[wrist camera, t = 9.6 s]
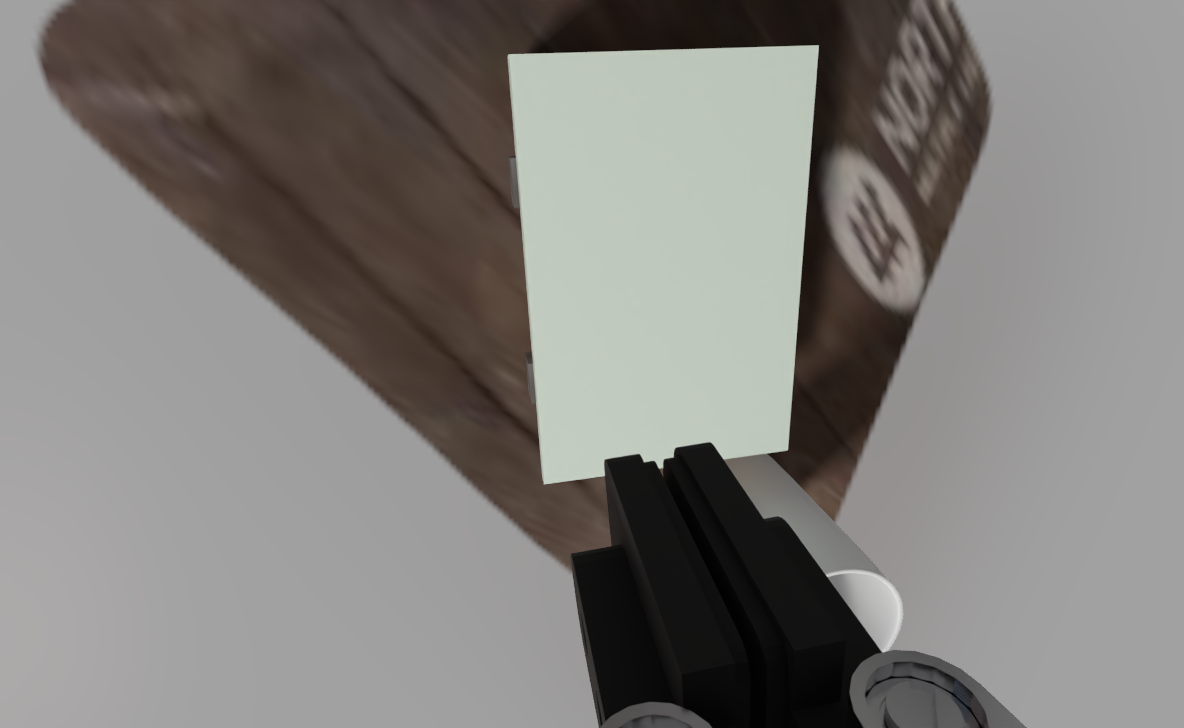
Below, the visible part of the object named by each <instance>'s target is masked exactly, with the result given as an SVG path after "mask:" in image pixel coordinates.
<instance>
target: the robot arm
mask: <svg viewBox="0 0 1184 728" xmlns="http://www.w3.org/2000/svg"><path fill="white" fill-rule="evenodd" d="M604 471H605V481H606V492H607V502H608V513H609V523H610V534H611V544H612V546H611V547H606V548H600V549H595V550H589V551H584V552H578V553H573V554H571V563H572V571H573V579H574V587H575V594H576V602H577V608H578V615H579V621H580V628H581V633H582V640H583V645H584V651H585V656H586V661H587V667H588V672H589V677H590V682H591V687H592V692H593V698H594V703H595V709H596V713H597V719H598V724H599V728H1026V727H1025V726H1024V725H1023V724H1022V723H1021V722H1020V721H1019V720H1018V719H1017V718H1016V717H1014V715H1013V714H1011V713H1010V712H1009V711H1008V710H1007V709H1006V708H1005V707H1004V706H1003V705H1002V704H1001V703H1000V702H999V701H998V700H997V699H995V697H993V696H992V695H991V694H990V693H989V692H988V691H987V690H986V689H985V688H984V687H983V686H982V685H981V684H980V683H978V682H977V681H976V680H974V679H973V678H972V677H970V676H969V675H968V674H966V673H965V672H964V671H963V670H961V669H960V668H958V667H956V666H954V665H952V664H950V663H948V662H945V661H943V660H942V659H940V658H937V657H934V656H930V655H926V654H923V653H920V652H916V651H901V650H892V651H887V652H883V653H882V651H881V650H880V649H879V647H878V646H877V645H876V643H875V642H874V640H873V639H872V638H871V636H870V635H869V634H868V632H867V631H866V629H865V628H864V627H863V625H862V624H861V623H860V621H859V620H858V618H857V617H856V616H855V614H854V613H853V612H852V610H851V609H850V607H849V606H848V605H847V603H846V602H845V601H844V599H843V598H842V596H841V595H840V594H839V592H838V591H837V590H836V588H835V587H834V586H833V584H832V583H831V581H830V580H829V579H828V577H827V576H826V575H825V573H824V572H823V570H822V569H821V568H820V566H819V565H818V564H817V562H816V561H815V559H814V558H813V557H812V555H811V554H810V553H809V551H808V550H807V548H806V547H805V546H804V544H803V543H802V542H801V540H800V539H799V537H798V536H797V535H796V533H795V532H794V531H793V529H792V528H791V527H790V525H789V524H788V523H787V522H786V521H785V520H784V519H783V518H781V517H779V516H776V517H771V518H765V519H764V518H763V517H762V515H761V514H760V513H759V511H758V510H757V508H756V507H755V505H754V504H753V502H752V501H751V499H750V498H749V496H748V495H747V493H746V492H745V490H744V489H743V487H742V486H741V485H740V483H739V482H738V480H737V479H736V477H735V476H734V474H733V473H732V471H731V470H730V468H729V467H728V465H727V464H726V462H725V461H724V459H723V458H722V456H721V455H720V454H719V452H718V451H717V449H716V448H715V446H714V445H713V444H712V443H711V442H706V443H700V444H694V445H688V446H682V447H676V448H675V450H674V457H673V458H667V459H664V461H663V476H664V478H663V476H662V474H661V472H660V470H659V468H658V466H657V464H656V462H655V461H649V462H644V461H643V459H642V457H641V455H640V454H634V455H628V456H622V457H616V458H610V459H605V460H604Z"/></svg>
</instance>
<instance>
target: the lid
mask: <svg viewBox="0 0 1184 728" xmlns="http://www.w3.org/2000/svg"><path fill="white" fill-rule="evenodd" d="M818 51H819V45H811V46H778V47H744V48H710V49H676V50H642V51H608V52H574V53H540V54H509V55H508V68H509V81H510V93H511V105H512V117H513V129H514V141H515V153H516V165H517V177H518V189H519V202H520V214H521V226H522V238H523V250H524V262H525V274H526V286H527V298H528V310H529V322H530V335H531V347H532V359H533V371H534V383H535V395H536V407H537V419H538V431H539V443H540V455H541V468H542V477H543V482H544V484H550V483H557V482H564V481H572V480H579V479H586V478H593V477H600V476H605V471H604V460H605V459H610V458H616V457H622V456H628V455H634V454H640V455H641V457H642V459H643V461H644V462H649V461H655V462H656V464H657V466H658V468H663V461H664V459H667V458H673V457H674V450H675V448H676V447H682V446H688V445H694V444H700V443H706V442H711V443H712V444H713V445H714V446H715V448H716V449H717V451H718V452H719V454H720V455H721V456H722V458H723V459H731V458H738V457H745V456H752V455H759V454H767V453H774V452H781V451H788V443H789V430H790V417H791V404H792V391H793V378H794V365H795V352H796V339H797V325H798V312H799V299H800V286H801V273H802V260H803V247H804V234H805V221H806V208H807V195H808V182H809V169H810V156H811V142H812V129H813V116H814V103H815V90H816V77H817V64H818Z"/></svg>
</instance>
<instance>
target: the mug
mask: <svg viewBox="0 0 1184 728" xmlns="http://www.w3.org/2000/svg"><path fill="white" fill-rule="evenodd" d="M724 461H725V462H726V464H727V465H728V467H729V468H730V470H731V471H732V473H733V474H734V476H735V477H736V479H737V480H738V482H739V483H740V485H741V486H742V487H743V489H744V490H745V492H746V493H747V495H748V496H749V498H750V499H751V501H752V502H753V504H754V505H755V507H756V508H757V510H758V511H759V513H760V514H761V515H762V517H763V518H764V519H765V518H771V517H776V516H779V517H781V518H783V519H784V520H785V521H786V522H787V523H788V524H789V525H790V527H791V528H792V529H793V531H794V532H795V533H796V535H797V536H798V537H799V539H800V540H801V542H802V543H803V544H804V546H805V547H806V548H807V550H808V551H809V553H810V554H811V555H812V557H813V558H814V559H815V561H816V562H817V564H818V565H819V566H820V568H821V569H822V570H823V572H824V573H825V575H826V576H827V577H828V579H829V580H830V581H831V583H832V584H833V586H834V587H835V588H836V590H837V591H838V592H839V594H840V595H841V596H842V598H843V599H844V601H845V602H846V603H847V605H848V606H849V607H850V609H851V610H852V612H853V613H854V614H855V616H856V617H857V618H858V620H859V621H860V623H861V624H862V625H863V627H864V628H865V629H866V631H867V632H868V634H869V635H870V636H871V638H872V639H873V640H874V642H875V643H876V645H877V646H878V647H879V649H880V650H881V651H882V653H883V652H887V651H888V650H889V648H890V647H891V646H892V644H893V642H894V641H895V639H896V637H897V635H898V633H899V631H900V628H901V625H902V621H903V612H904V610H903V602H902V598H901V596H900V594H899V592H898V590H897V588H896V587H895V586H894V584H892V582H891V581H890V580H888V579H887V578H886V577H885V576H884V574H883V573H882V572H881V571H880V570H879V569H878V568H877V567H876V565H875V564H874V563H873V562H872V561H871V560H870V559H869V558H868V557H867V556H866V554H864V552H863V551H861V549H860V548H859V547H858V546H857V545H856V544H855V543H854V542H853V541H852V540H851V539H850V538H849V537H848V536H847V535H846V534H845V533H844V532H843V531H842V530H841V528H840V527H839V526H838V525H837V524H836V523H835V522H834V521H833V520H832V519H831V518H830V517H829V516H828V515H827V514H826V513H825V512H824V511H823V510H822V509H821V508H820V507H819V506H818V505H817V504H816V502H815V501H814V500H813V499H812V498H811V497H810V496H809V495H808V494H807V493H806V492H805V491H804V490H803V489H802V488H801V487H800V486H799V485H798V484H797V482H796V481H795V480H794V479H793V478H792V477H791V476H790V475H789V474H788V473H787V472H786V471H785V470H784V469H783V468H782V467H781V466H780V465H779V464H778V463H777V462H776V461H775V460H774V459H773V458H772V457H770V456H769V455H768V454H759V455H752V456H745V457H738V458H731V459H724Z"/></svg>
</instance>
